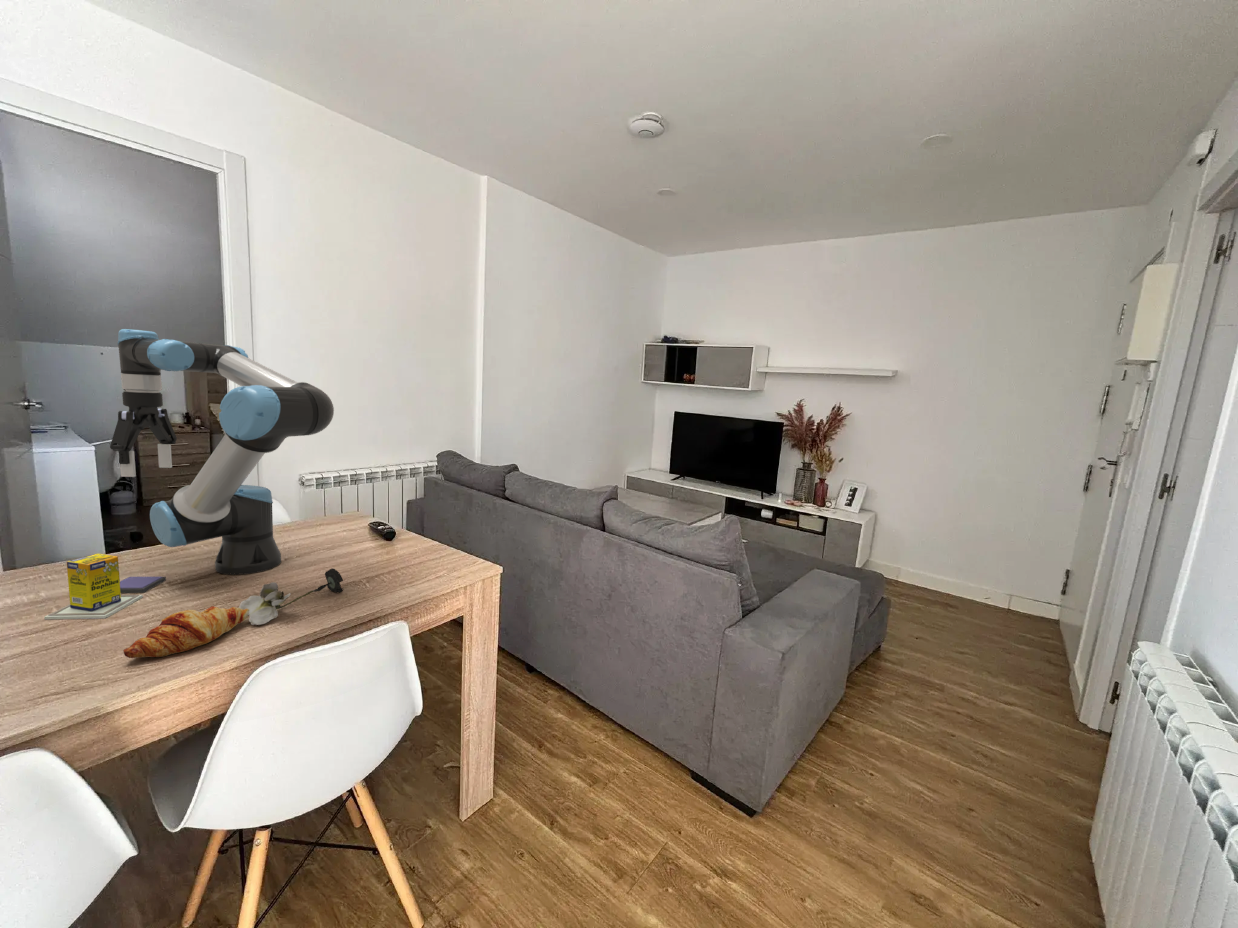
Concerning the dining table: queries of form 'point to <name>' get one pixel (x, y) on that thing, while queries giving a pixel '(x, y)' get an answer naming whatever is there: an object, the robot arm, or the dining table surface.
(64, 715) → the dining table surface
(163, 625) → the croissant
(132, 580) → the ink pad
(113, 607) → the board
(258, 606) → the artificial flower
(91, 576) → the supplement box
